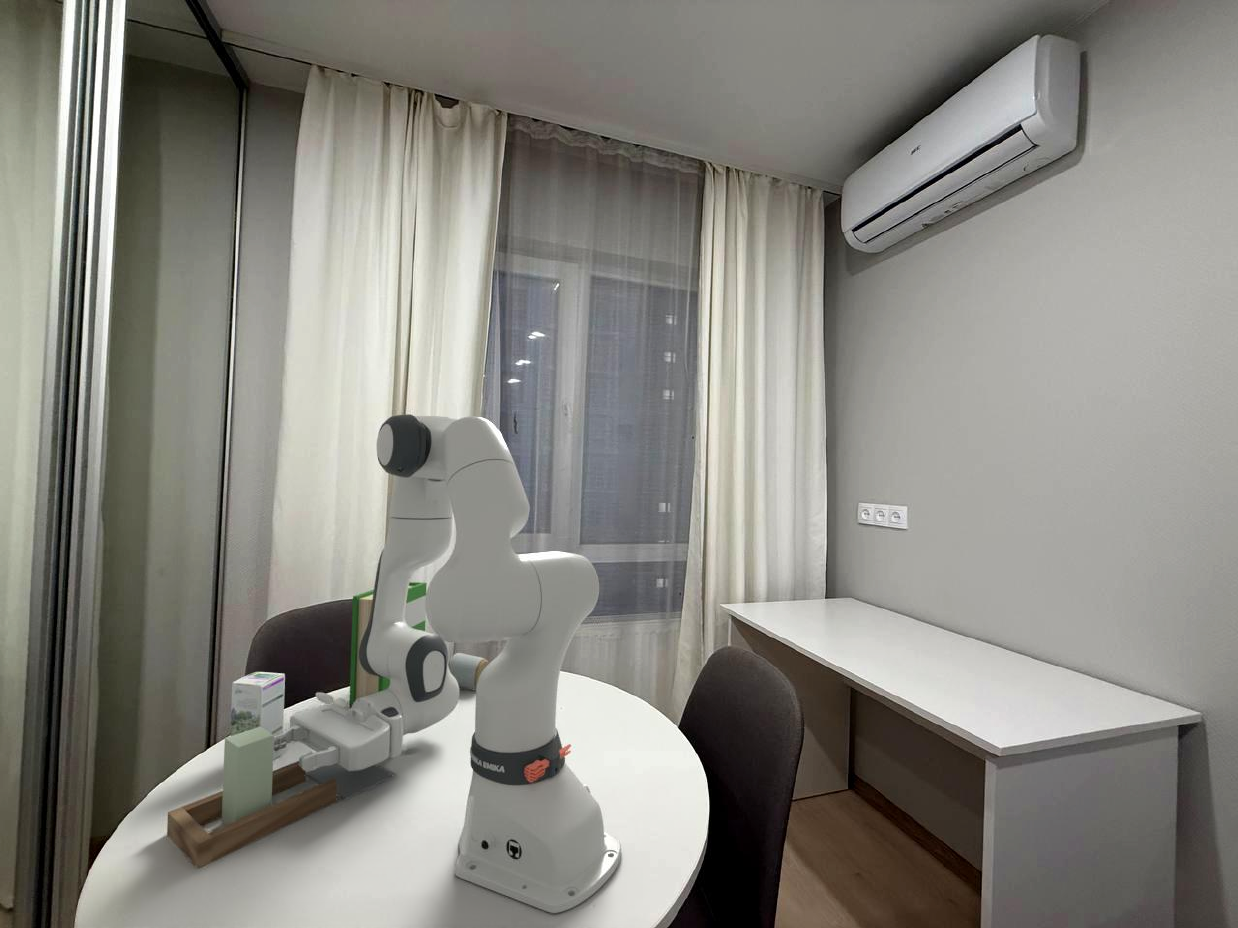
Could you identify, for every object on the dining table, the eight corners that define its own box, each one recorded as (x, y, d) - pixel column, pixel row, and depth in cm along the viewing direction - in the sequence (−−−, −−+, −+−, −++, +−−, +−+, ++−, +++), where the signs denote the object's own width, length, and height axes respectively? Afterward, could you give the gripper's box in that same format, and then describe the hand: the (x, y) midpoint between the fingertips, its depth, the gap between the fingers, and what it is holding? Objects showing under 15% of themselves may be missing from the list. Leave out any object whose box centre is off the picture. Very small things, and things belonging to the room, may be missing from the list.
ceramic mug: (476, 695, 124) (477, 661, 124) (444, 691, 126) (445, 657, 126) (497, 679, 134) (498, 648, 134) (467, 676, 136) (468, 645, 136)
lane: (336, 801, 82) (337, 781, 82) (197, 868, 68) (198, 843, 68) (301, 777, 89) (301, 759, 89) (166, 834, 74) (167, 812, 74)
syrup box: (284, 754, 96) (287, 671, 96) (257, 771, 90) (261, 683, 91) (255, 751, 97) (258, 669, 97) (227, 768, 91) (230, 681, 91)
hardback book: (381, 713, 113) (385, 598, 114) (349, 710, 114) (353, 596, 115) (423, 682, 131) (426, 582, 132) (395, 680, 132) (398, 581, 133)
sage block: (270, 819, 78) (273, 734, 78) (234, 836, 74) (238, 747, 74) (256, 808, 80) (260, 726, 81) (221, 823, 77) (224, 737, 77)
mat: (392, 776, 89) (392, 774, 89) (344, 799, 83) (344, 797, 83) (352, 754, 96) (352, 753, 96) (306, 774, 90) (306, 772, 90)
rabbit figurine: (359, 716, 112) (327, 711, 106) (345, 730, 112) (312, 726, 105) (352, 693, 116) (320, 687, 109) (339, 707, 115) (306, 701, 109)
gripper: (341, 688, 99) (256, 714, 88) (408, 718, 87) (320, 752, 76) (340, 723, 99) (254, 754, 87) (406, 758, 87) (318, 798, 76)
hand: (285, 754), depth 82 cm, fingers open, 8 cm apart
